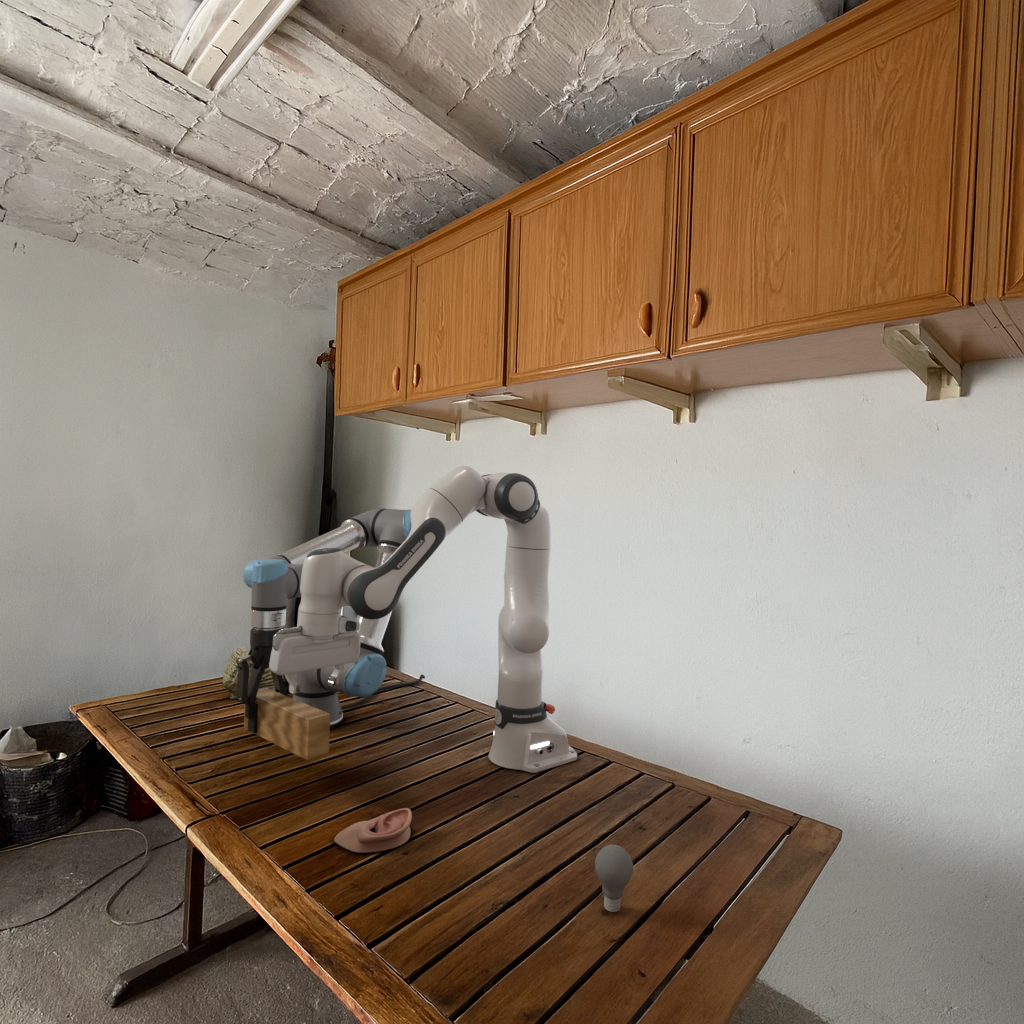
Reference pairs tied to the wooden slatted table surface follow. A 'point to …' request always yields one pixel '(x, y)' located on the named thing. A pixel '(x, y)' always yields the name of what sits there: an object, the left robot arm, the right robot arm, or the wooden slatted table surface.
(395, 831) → the anatomical model
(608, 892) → the light bulb
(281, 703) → the bar
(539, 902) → the wooden slatted table surface
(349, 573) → the right robot arm
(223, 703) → the wooden slatted table surface
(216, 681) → the wooden slatted table surface
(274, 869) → the wooden slatted table surface
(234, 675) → the fossil
